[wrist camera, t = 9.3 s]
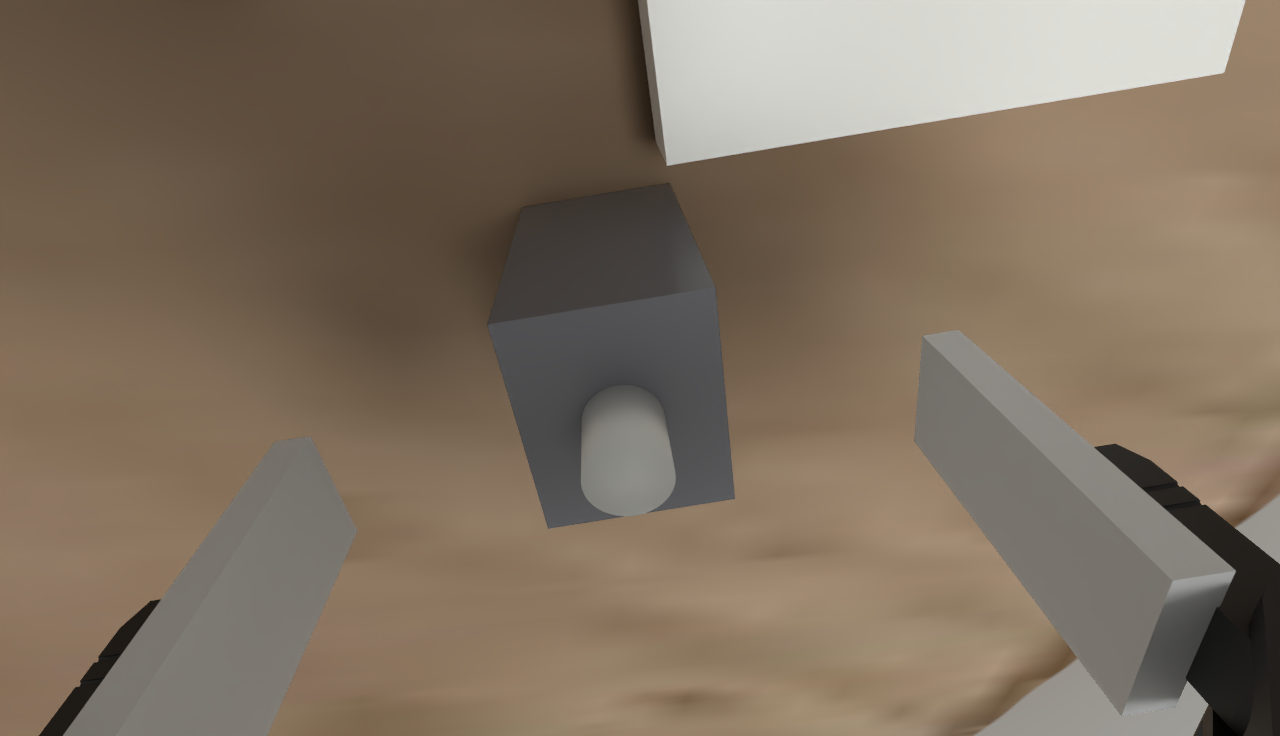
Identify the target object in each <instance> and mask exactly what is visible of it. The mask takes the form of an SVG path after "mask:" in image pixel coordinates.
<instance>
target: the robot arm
mask: <svg viewBox="0 0 1280 736" xmlns="http://www.w3.org/2000/svg"><path fill="white" fill-rule="evenodd" d="M914 441H915V443H916V444H917V445H918V447H919V448H920V449H921V451H922V452H923V453H924V455H925V456H926V457H927V459H928V460H929V461H930V463H931V464H932V465H933V467H934V468H935V469H936V471H937V472H938V473H939V475H940V476H941V477H942V479H943V480H944V481H945V483H946V484H947V485H948V487H949V488H950V489H951V491H952V492H953V493H954V495H955V496H956V497H957V499H958V500H959V501H960V503H961V504H962V505H963V506H964V508H965V509H966V510H967V512H968V513H969V514H970V516H971V517H972V518H973V520H974V521H975V522H976V524H977V525H978V526H979V528H980V529H981V530H982V532H983V533H984V534H985V536H986V537H987V538H988V540H989V541H990V542H991V544H992V545H993V546H994V548H995V549H996V550H997V552H998V553H999V554H1000V556H1001V557H1002V558H1003V560H1004V561H1005V562H1006V564H1007V565H1008V566H1009V568H1010V569H1011V570H1012V572H1013V573H1014V574H1015V575H1016V577H1017V578H1018V579H1019V581H1020V582H1021V583H1022V585H1023V586H1024V587H1025V589H1026V590H1027V591H1028V593H1029V594H1030V595H1031V597H1032V598H1033V599H1034V601H1035V602H1036V603H1037V605H1038V606H1039V607H1040V609H1041V610H1042V611H1043V613H1044V614H1045V615H1046V617H1047V618H1048V619H1049V621H1050V622H1051V623H1052V625H1053V626H1054V627H1055V629H1056V630H1057V631H1058V633H1059V634H1060V635H1061V637H1062V638H1063V639H1064V641H1065V642H1066V643H1067V644H1068V646H1069V647H1070V648H1071V650H1072V651H1073V652H1074V654H1075V655H1076V656H1077V658H1078V659H1079V660H1080V662H1081V663H1082V664H1083V666H1084V667H1085V668H1086V670H1087V671H1088V672H1089V674H1090V675H1091V676H1092V678H1093V679H1094V680H1095V681H1096V683H1097V684H1098V686H1099V687H1100V688H1101V690H1102V691H1103V692H1104V694H1105V695H1106V696H1107V698H1108V699H1109V700H1110V702H1111V703H1112V704H1113V705H1114V707H1115V708H1116V709H1117V711H1118V712H1119V713H1120V715H1121V716H1124V715H1131V714H1137V713H1144V712H1150V711H1156V710H1163V709H1169V708H1175V707H1176V704H1177V702H1178V700H1179V698H1180V696H1181V693H1182V691H1183V689H1184V686H1185V684H1186V682H1187V681H1188V682H1189V683H1190V684H1191V685H1192V686H1193V687H1194V688H1195V689H1196V690H1197V692H1198V693H1199V694H1200V695H1201V696H1202V697H1203V698H1204V700H1205V701H1206V702H1207V703H1208V704H1209V705H1208V707H1207V709H1206V711H1205V713H1204V715H1203V717H1202V719H1201V721H1200V723H1199V725H1198V727H1197V729H1196V731H1195V734H1194V736H1280V564H1279V563H1278V562H1276V561H1275V560H1274V559H1273V558H1271V557H1270V556H1269V555H1267V554H1266V553H1265V552H1264V551H1263V550H1261V549H1260V548H1259V547H1258V546H1256V545H1255V544H1254V543H1253V542H1251V541H1250V540H1249V539H1248V538H1246V537H1245V536H1244V535H1243V534H1241V533H1240V532H1239V531H1238V530H1236V529H1235V528H1234V527H1233V526H1232V525H1230V524H1229V523H1228V522H1227V521H1225V520H1224V519H1223V518H1222V517H1220V516H1219V515H1218V514H1217V513H1215V512H1214V511H1213V510H1212V509H1210V508H1209V507H1208V506H1207V505H1201V504H1200V500H1199V499H1198V498H1197V497H1195V496H1194V495H1193V494H1192V493H1190V492H1189V491H1188V490H1187V489H1186V488H1184V487H1183V486H1182V487H1179V486H1178V484H1177V481H1176V480H1174V479H1173V478H1172V477H1171V476H1169V475H1168V474H1167V473H1166V472H1164V471H1163V470H1162V469H1161V468H1159V467H1158V466H1157V465H1156V464H1154V463H1153V462H1152V461H1151V460H1149V459H1147V458H1144V457H1142V456H1140V455H1138V454H1136V453H1134V452H1132V451H1130V450H1128V449H1125V448H1123V447H1121V446H1119V445H1117V444H1111V445H1104V446H1098V447H1093V446H1092V445H1091V444H1089V443H1088V442H1087V441H1086V440H1085V439H1084V438H1083V437H1081V436H1080V435H1079V434H1078V433H1077V432H1076V431H1075V430H1073V429H1072V428H1071V427H1070V426H1069V425H1068V424H1066V423H1065V422H1064V421H1063V420H1062V419H1061V418H1060V417H1058V416H1057V415H1056V414H1055V413H1054V412H1053V411H1051V410H1050V409H1049V408H1048V407H1047V406H1046V405H1045V404H1043V403H1042V402H1041V401H1040V400H1039V399H1038V398H1037V397H1035V396H1034V395H1033V394H1032V393H1031V392H1030V391H1028V390H1027V389H1026V388H1025V387H1024V386H1023V385H1022V384H1020V383H1019V382H1018V381H1017V380H1016V379H1015V378H1013V377H1012V376H1011V375H1010V374H1009V373H1008V372H1007V371H1005V370H1004V369H1003V368H1002V367H1001V366H1000V365H998V364H997V363H996V362H995V361H994V360H993V359H992V358H990V357H989V356H988V355H987V354H986V353H985V352H984V351H982V350H981V349H980V348H979V347H978V346H977V345H975V344H974V343H973V342H972V341H971V340H970V339H969V338H967V337H966V336H965V335H964V334H963V333H962V332H960V331H959V330H955V331H949V332H943V333H937V334H931V335H925V336H923V337H922V349H921V362H920V374H919V386H918V399H917V411H916V423H915V436H914ZM356 533H357V529H356V527H355V525H354V523H353V521H352V519H351V517H350V515H349V513H348V511H347V509H346V507H345V505H344V503H343V501H342V499H341V497H340V495H339V493H338V491H337V489H336V487H335V485H334V483H333V481H332V479H331V477H330V475H329V473H328V471H327V469H326V467H325V465H324V463H323V461H322V459H321V457H320V455H319V453H318V451H317V449H316V446H315V444H314V442H313V440H312V438H311V436H307V437H301V438H295V439H288V440H282V441H276V442H274V444H273V445H272V446H271V448H270V449H269V451H268V452H267V453H266V455H265V456H264V458H263V459H262V460H261V462H260V463H259V464H258V466H257V467H256V469H255V470H254V471H253V473H252V474H251V476H250V477H249V478H248V480H247V481H246V483H245V484H244V485H243V487H242V488H241V489H240V491H239V492H238V494H237V495H236V496H235V498H234V499H233V501H232V502H231V503H230V505H229V506H228V507H227V509H226V510H225V512H224V513H223V514H222V516H221V517H220V519H219V520H218V521H217V523H216V524H215V526H214V527H213V528H212V530H211V531H210V532H209V534H208V535H207V537H206V538H205V539H204V541H203V542H202V544H201V545H200V546H199V548H198V549H197V550H196V552H195V553H194V555H193V556H192V557H191V559H190V560H189V562H188V563H187V564H186V566H185V567H184V568H183V570H182V571H181V573H180V574H179V575H178V577H177V578H176V580H175V581H174V582H173V584H172V585H171V587H170V588H169V589H168V591H167V592H166V593H165V595H164V596H163V598H162V599H161V600H154V601H150V602H149V603H148V604H147V605H146V606H145V607H143V608H142V609H141V610H140V611H139V612H138V613H137V614H135V615H134V616H133V617H132V618H131V619H130V620H129V621H128V622H126V623H125V624H124V625H123V626H122V627H121V628H120V629H119V630H118V632H117V633H116V634H115V636H114V637H113V638H112V640H111V641H110V642H109V643H108V645H107V646H106V647H105V649H104V650H103V651H102V653H101V654H100V655H99V657H98V658H99V661H98V662H96V663H93V665H92V666H91V667H90V669H89V670H88V671H87V673H86V674H85V675H84V677H83V678H82V679H81V681H80V682H81V685H80V687H75V689H74V690H73V691H72V693H71V694H70V695H69V697H68V698H67V699H66V701H65V702H64V703H63V705H62V706H61V707H60V708H59V710H58V711H57V712H56V714H55V715H54V716H53V718H52V719H51V720H50V722H49V723H48V724H47V726H46V727H45V728H44V730H43V731H42V732H41V734H40V735H39V736H267V735H268V733H269V730H270V728H271V726H272V724H273V721H274V719H275V717H276V714H277V712H278V710H279V708H280V705H281V703H282V701H283V699H284V696H285V694H286V692H287V690H288V687H289V685H290V683H291V680H292V678H293V676H294V674H295V671H296V669H297V667H298V665H299V662H300V660H301V658H302V655H303V653H304V651H305V649H306V646H307V644H308V642H309V640H310V637H311V635H312V633H313V630H314V628H315V626H316V624H317V621H318V619H319V617H320V615H321V612H322V610H323V608H324V606H325V603H326V601H327V599H328V596H329V594H330V592H331V590H332V587H333V585H334V583H335V581H336V578H337V576H338V574H339V571H340V569H341V567H342V565H343V562H344V560H345V558H346V556H347V553H348V551H349V549H350V546H351V544H352V542H353V540H354V537H355V535H356Z"/></svg>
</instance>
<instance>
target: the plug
mask: <svg viewBox="0 0 1280 736" xmlns="http://www.w3.org/2000/svg"><path fill="white" fill-rule="evenodd" d="M487 325H488V329H489V332H490V335H491V339H492V342H493V345H494V349H495V352H496V355H497V359H498V362H499V365H500V369H501V372H502V375H503V379H504V382H505V386H506V389H507V392H508V396H509V399H510V402H511V406H512V409H513V412H514V416H515V419H516V422H517V426H518V429H519V432H520V436H521V439H522V442H523V446H524V449H525V452H526V456H527V459H528V463H529V466H530V469H531V473H532V476H533V479H534V483H535V486H536V489H537V493H538V496H539V499H540V503H541V506H542V509H543V513H544V516H545V519H546V523H547V526H548V529H549V528H555V527H561V526H568V525H574V524H580V523H586V522H593V521H599V520H605V519H611V518H618V517H624V516H636V515H641V514H644V513H649V512H655V511H661V510H668V509H674V508H680V507H686V506H693V505H699V504H705V503H711V502H718V501H724V500H730V499H735V495H734V484H733V473H732V462H731V451H730V440H729V429H728V418H727V407H726V397H725V386H724V375H723V364H722V353H721V342H720V331H719V320H718V309H717V298H716V287H715V285H714V283H713V281H712V278H711V276H710V274H709V271H708V269H707V267H706V265H705V262H704V260H703V258H702V256H701V253H700V251H699V249H698V247H697V244H696V242H695V240H694V237H693V235H692V233H691V231H690V228H689V226H688V224H687V222H686V219H685V217H684V215H683V212H682V210H681V208H680V206H679V203H678V201H677V199H676V197H675V194H674V192H673V190H672V188H671V185H670V183H666V184H660V185H654V186H648V187H641V188H635V189H629V190H623V191H617V192H611V193H605V194H599V195H593V196H587V197H581V198H575V199H569V200H563V201H557V202H551V203H545V204H539V205H533V206H527V207H522V210H521V213H520V217H519V220H518V223H517V227H516V230H515V234H514V237H513V240H512V244H511V247H510V250H509V254H508V257H507V260H506V264H505V267H504V270H503V274H502V277H501V280H500V284H499V287H498V290H497V294H496V297H495V301H494V304H493V307H492V311H491V314H490V317H489V321H488V324H487Z"/></svg>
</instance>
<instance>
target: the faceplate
mask: <svg viewBox="0 0 1280 736" xmlns="http://www.w3.org/2000/svg"><path fill="white" fill-rule="evenodd" d="M1244 3H1245V0H638V7H639V14H640V22H641V30H642V38H643V46H644V53H645V61H646V69H647V77H648V85H649V92H650V100H651V108H652V116H653V124H654V131H655V139H656V143H657V145H658V148H659V150H660V152H661V154H662V156H663V158H664V160H665V162H666V165H667V166H668V165H674V164H680V163H686V162H692V161H698V160H704V159H710V158H716V157H722V156H728V155H734V154H740V153H746V152H752V151H758V150H764V149H770V148H776V147H783V146H789V145H795V144H801V143H807V142H813V141H819V140H825V139H831V138H837V137H843V136H849V135H855V134H861V133H867V132H873V131H879V130H885V129H891V128H897V127H903V126H909V125H915V124H921V123H927V122H933V121H939V120H945V119H951V118H957V117H963V116H969V115H975V114H981V113H987V112H993V111H999V110H1005V109H1011V108H1017V107H1023V106H1029V105H1035V104H1041V103H1047V102H1053V101H1059V100H1065V99H1071V98H1077V97H1083V96H1089V95H1095V94H1101V93H1107V92H1113V91H1119V90H1125V89H1131V88H1137V87H1143V86H1149V85H1155V84H1161V83H1167V82H1173V81H1179V80H1185V79H1191V78H1197V77H1203V76H1209V75H1215V74H1221V73H1224V71H1225V68H1226V65H1227V61H1228V58H1229V54H1230V51H1231V48H1232V44H1233V41H1234V37H1235V34H1236V31H1237V27H1238V24H1239V20H1240V17H1241V14H1242V10H1243V7H1244Z"/></svg>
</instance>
